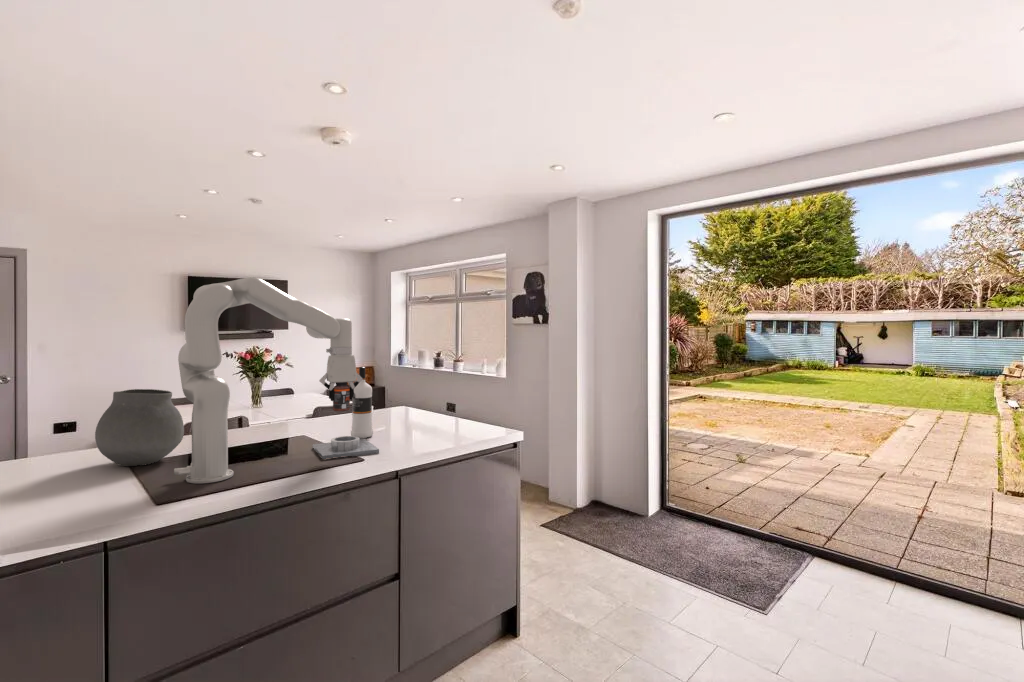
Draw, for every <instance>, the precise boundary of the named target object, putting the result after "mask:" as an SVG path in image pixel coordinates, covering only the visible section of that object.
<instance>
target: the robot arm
mask: <svg viewBox="0 0 1024 682" xmlns="http://www.w3.org/2000/svg"><path fill="white" fill-rule="evenodd" d="M192 298H193V299H192V300H191V302H190V304H189V305H188V307H187V310H186V312H185V316H184V330H185V343H184V344H183V345H182V346H181V347H180V350H179V351H178V357H177V358H178V359H177V360H178V361H177V362H178V368H179V370H178V371H179V377H180V382H181V387H182V388H181V390H182V392H183V395H184V397H185V398H186V399H187V400H188V401H189V402H191V403H193V405H192V412H191V463H190V465H187V466H186V467H177V468H176V467H175V468H174V469H173V474H174V476H177V475H178V476H184V475H185V476H186V477H185V482H186V483H190V484H209V483H210V484H211V483H217V482H220V481H221V482H222V481H225V480H228V479H230V478H232V477H233V476H234V470H232V469H230V468H229V445H228V444H229V443H228V442H229V440H228V439H229V430H228V429H229V428H228V426H229V425H228V424H229V422H228V420H229V419H228V418H229V417H228V415H229V413H228V412H229V405H230V404H229V403H230V398H231V396H230V395H231V392H230V391H231V390H230V387H229V384H228V383H227V382H226V381H225V379H223V378H221V377H219V376H216V375H215V369H217V368H219V366H220V364H221V362H222V358H223V357H222V356H223V355H222V351H221V349H222V348H221V343H220V336H219V318H220V317H221V314H222V313H223V312H224V311H225V310H227V309H229V308H234V307H238V306H243V305H246V304H251V305H253V306H255V307H257V308H259V309H261V310H262V311H265V312H266V313H269V314H270V315H271V316H274V317H275V318H278V319H279V320H282V321H285V322H288V323H292V324H297V325H300V326H303V327H306V332H307V334H308V335H309V336H310V337H312V338H313V339H325V340H326V339H328V340H329V339H330V342H329V343H330V346H329V348H326V350H325V351H326V353H328V354H330V355H328V357H327V363H326V373H325V374H324V375H323V376H322V377H320V379H319V382H320V383H321V385H323V386H324V387H325V388H326V389H327V390H328V400H329V399H330V401H331V402H333V401H334V390H333V387H334V386H335V385H336V383H343V382H347V384H348V386H349V387H350V401H352V397H354V389H355V387H356V386H357V385H358V384H359V383H360V382H361V381H362V380H363V378H362V377H361V376H360V375H359V372H357V365H356V357H355V354H353V352H352V351H353V347H352V346H353V344H352V343H353V337H352V336H353V332H352V326H353V325H352V321H351V319H349V318H335V317H334V316H332V315H330V314H329V313H326V312H325V311H323V310H322V309H320V308H318V307H315V306H313V305H312V304H309V303H306V302H305V301H302V300H300V299H297V298H295V297H293V296H291V295H290V294H287V293H286V292H284V291H282V290H281V289H279V288H277V287H275V286H274V285H272V284H271V283H269V282H267V281H265V280H263V279H262V278H260V277H256V276H251V277H243V278H239V279H235V280H230V281H225V282H218V283H211V284H204V285H202V286H200V287H198V288H196V290H195V291H194V293H193V297H192ZM326 380H327V382H329V384H328V383H327V382H326Z"/></svg>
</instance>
